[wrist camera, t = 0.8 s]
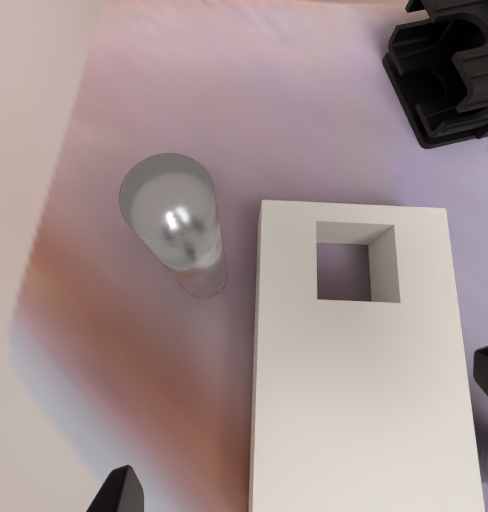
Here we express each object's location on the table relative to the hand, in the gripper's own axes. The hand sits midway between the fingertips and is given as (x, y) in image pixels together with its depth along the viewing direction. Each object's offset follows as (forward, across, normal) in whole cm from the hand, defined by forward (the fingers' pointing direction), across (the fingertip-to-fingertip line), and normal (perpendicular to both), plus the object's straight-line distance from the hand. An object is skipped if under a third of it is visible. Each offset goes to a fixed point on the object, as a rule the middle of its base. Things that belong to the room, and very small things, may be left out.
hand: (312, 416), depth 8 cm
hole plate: (+10, -5, +8) cm, 14 cm away
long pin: (+15, +2, +2) cm, 15 cm away
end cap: (+21, -20, -5) cm, 29 cm away
